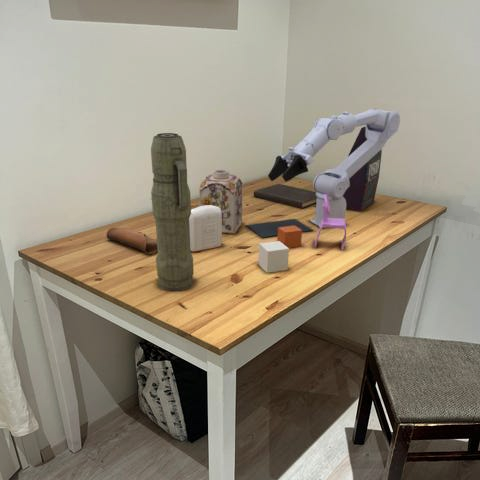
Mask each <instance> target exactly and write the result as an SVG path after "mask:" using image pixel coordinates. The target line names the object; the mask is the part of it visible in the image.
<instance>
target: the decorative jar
mask: <svg viewBox="0 0 480 480" xmlns="http://www.w3.org/2000/svg"><path fill="white" fill-rule="evenodd" d="M198 196H199V199H198V202H199V203H198V204H199V207H200V206H205V205H213V206H217V207H219V208H220V209H221V213H222V234H228V235H229V234H230V235H236V233H237V232H238V230H239V228H240V227H241V225H242V223H243V182H242V180H241V178H240V177H238V176H237V175H235V174H232V173H231V174H230V172H229V170H227V169H214V170H213V174H208V175H205V176H203V178H202V180H201V183H200V186H199V188H198Z"/></svg>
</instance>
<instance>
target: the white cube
mask: <svg viewBox="0 0 480 480" xmlns="http://www.w3.org/2000/svg"><path fill="white" fill-rule="evenodd" d="M289 253H290V248H287V247H286V246H285V245H284V244H283V243H281V242H280V241H277V240H276V241H268V242H259V243H258V256H257V257H258V261H257V262H258V263H257V265H258V266H259V267H260V268H261V269H263V271H265V273H267V274H269V273H276V272H283V271H287V270H288V268H289V256H290V254H289Z"/></svg>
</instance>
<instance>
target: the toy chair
mask: <svg viewBox="0 0 480 480" xmlns="http://www.w3.org/2000/svg"><path fill="white" fill-rule="evenodd" d="M324 201H325V203H323V220H322V221H321V224H320V227H318V231H317V234H316V237H315V240H314V248H317V244H318V241H319V237H320V233H321V231H322V229H323V228H335V229H341V230H344V235H343V238H342V240H341V251H343V250H344V247H345V243H346V240H347V224H346V218H345V219H336V218H328V215H330V213H329V212H330V205H329V197H328V195H327V194H324Z"/></svg>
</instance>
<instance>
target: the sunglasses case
mask: <svg viewBox="0 0 480 480" xmlns="http://www.w3.org/2000/svg"><path fill="white" fill-rule="evenodd" d="M106 239H108V240H110V241H115V242H119V243H122V244H123V245H127V246H130V247H132V248H135V249H137V250H140V251H142V252H145V253H147V254H148V255H152V254H155V253H158V248H157V239H155V238H153V237H151V236H148V235H147V234H146V233H144V232H141V231H139V230H134V229H130V228H126V227H111V228H108V230H107V232H106Z"/></svg>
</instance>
